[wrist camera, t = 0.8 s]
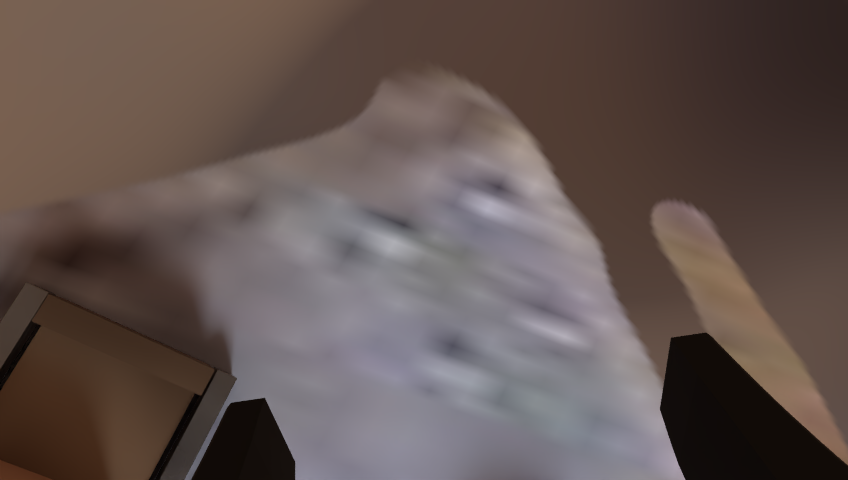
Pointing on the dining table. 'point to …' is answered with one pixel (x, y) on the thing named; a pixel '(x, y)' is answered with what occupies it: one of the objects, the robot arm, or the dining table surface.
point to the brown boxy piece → (94, 397)
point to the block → (17, 473)
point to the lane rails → (15, 329)
